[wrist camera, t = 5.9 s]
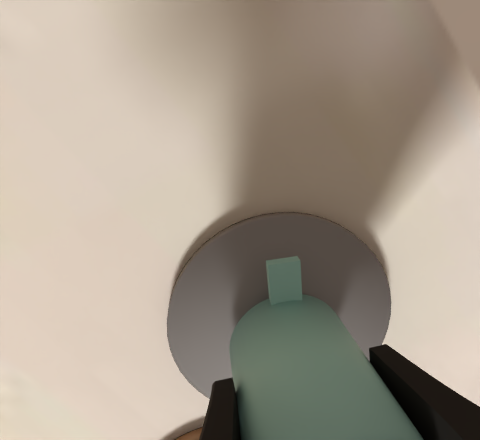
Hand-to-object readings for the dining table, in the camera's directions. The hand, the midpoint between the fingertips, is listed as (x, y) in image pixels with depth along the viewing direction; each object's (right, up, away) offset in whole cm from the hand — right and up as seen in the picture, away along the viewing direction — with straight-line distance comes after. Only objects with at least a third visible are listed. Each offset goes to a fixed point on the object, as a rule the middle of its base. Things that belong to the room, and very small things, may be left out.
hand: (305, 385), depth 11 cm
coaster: (0, +1, +4) cm, 4 cm away
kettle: (0, +1, +2) cm, 2 cm away
